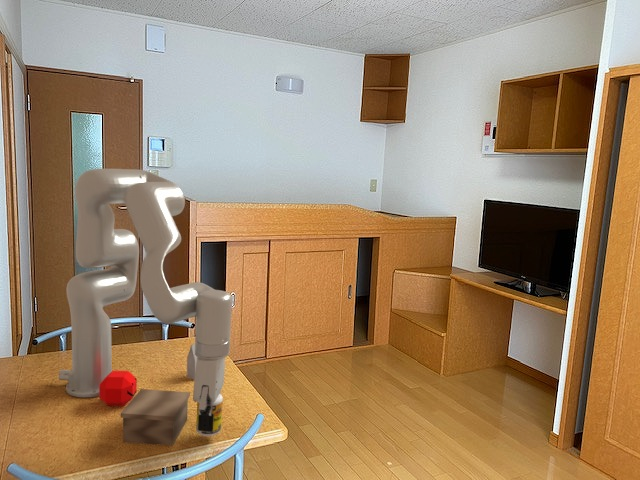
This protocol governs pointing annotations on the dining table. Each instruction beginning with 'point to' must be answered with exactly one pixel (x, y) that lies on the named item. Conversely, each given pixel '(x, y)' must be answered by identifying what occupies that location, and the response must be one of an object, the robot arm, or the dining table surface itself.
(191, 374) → the white carton
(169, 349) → the dining table surface
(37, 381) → the dining table surface
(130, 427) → the walnut box
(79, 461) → the dining table surface
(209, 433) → the supplement bottle
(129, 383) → the ball
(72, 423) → the dining table surface
